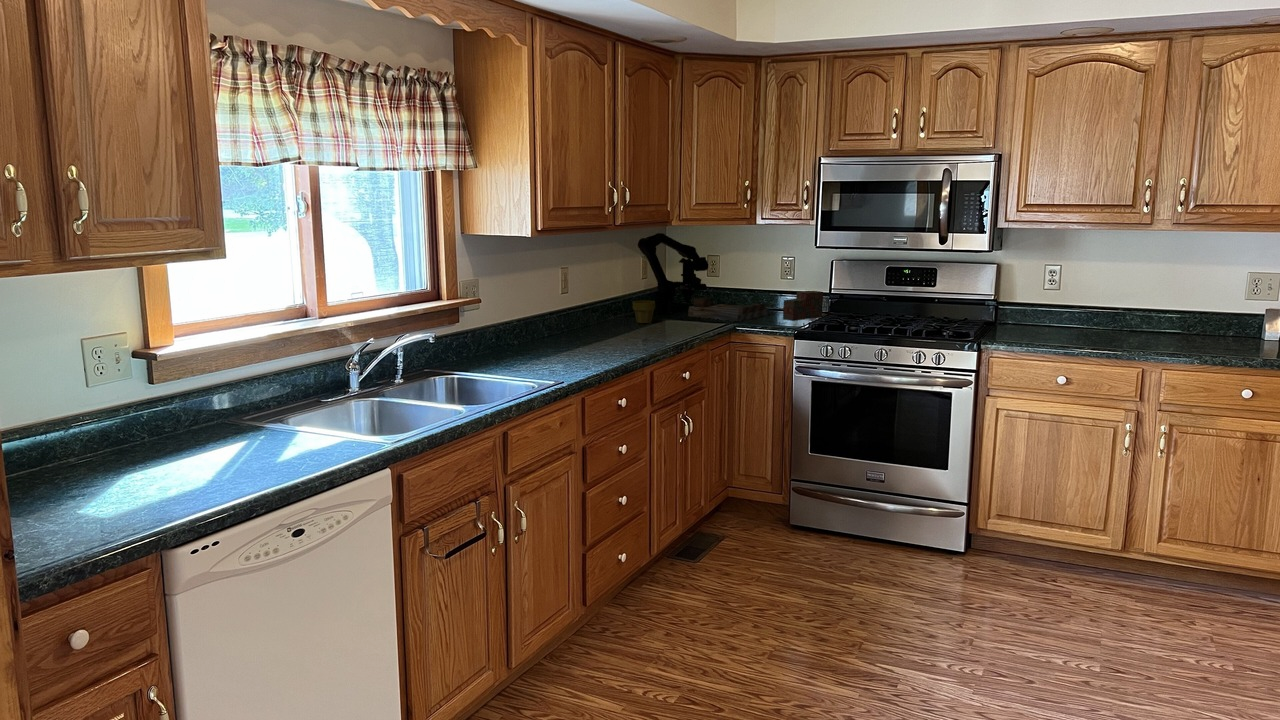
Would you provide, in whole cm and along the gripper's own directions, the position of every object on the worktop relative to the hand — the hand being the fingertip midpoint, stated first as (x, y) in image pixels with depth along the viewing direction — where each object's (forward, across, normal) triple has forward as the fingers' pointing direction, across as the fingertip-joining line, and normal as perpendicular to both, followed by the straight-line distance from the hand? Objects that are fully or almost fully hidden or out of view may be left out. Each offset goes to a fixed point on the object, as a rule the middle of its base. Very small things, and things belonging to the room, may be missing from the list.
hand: (688, 303), depth 453 cm
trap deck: (+4, -20, 0) cm, 21 cm away
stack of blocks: (+4, -56, -16) cm, 58 cm away
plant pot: (+4, -8, +44) cm, 45 cm away
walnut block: (+1, -8, 0) cm, 9 cm away
